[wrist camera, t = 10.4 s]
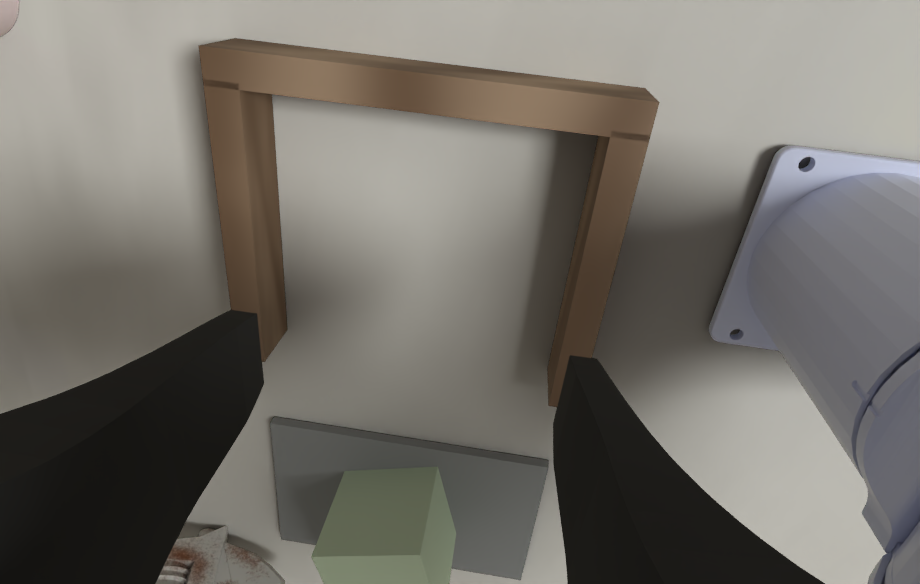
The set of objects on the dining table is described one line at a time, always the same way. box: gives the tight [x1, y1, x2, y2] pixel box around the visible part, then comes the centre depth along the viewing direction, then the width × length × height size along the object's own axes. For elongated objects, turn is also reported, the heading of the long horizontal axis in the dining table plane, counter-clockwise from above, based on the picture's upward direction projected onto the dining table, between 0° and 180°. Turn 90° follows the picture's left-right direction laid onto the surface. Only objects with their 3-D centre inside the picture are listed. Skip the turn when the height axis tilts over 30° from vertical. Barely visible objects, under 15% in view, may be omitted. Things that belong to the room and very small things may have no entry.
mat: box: [270, 417, 548, 580], centre depth 30 cm, size 14×9×1 cm, turn 85°
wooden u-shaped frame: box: [199, 38, 659, 407], centre depth 21 cm, size 14×12×2 cm
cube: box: [312, 467, 456, 584], centre depth 28 cm, size 5×5×5 cm
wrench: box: [156, 526, 285, 584], centre depth 31 cm, size 8×2×30 cm
